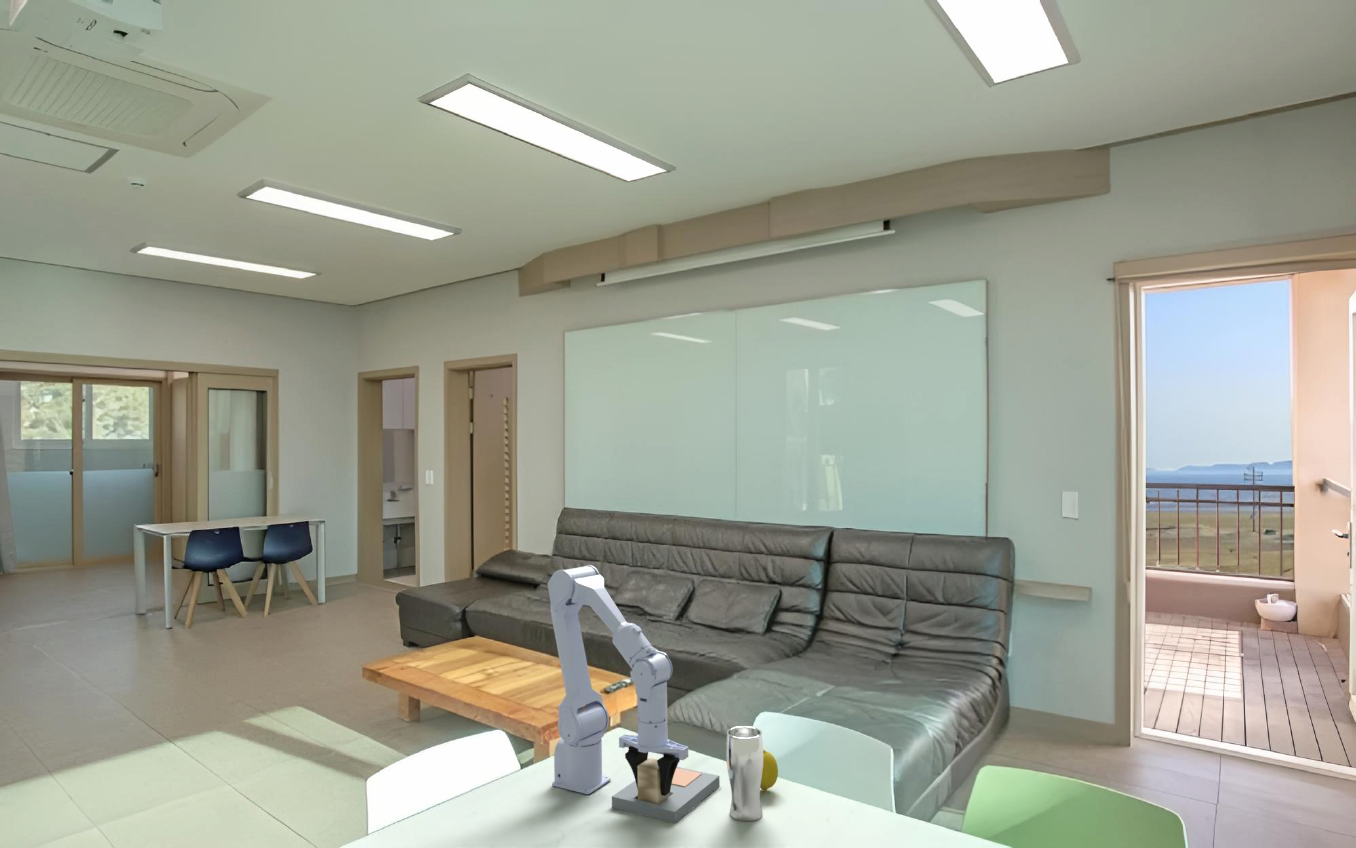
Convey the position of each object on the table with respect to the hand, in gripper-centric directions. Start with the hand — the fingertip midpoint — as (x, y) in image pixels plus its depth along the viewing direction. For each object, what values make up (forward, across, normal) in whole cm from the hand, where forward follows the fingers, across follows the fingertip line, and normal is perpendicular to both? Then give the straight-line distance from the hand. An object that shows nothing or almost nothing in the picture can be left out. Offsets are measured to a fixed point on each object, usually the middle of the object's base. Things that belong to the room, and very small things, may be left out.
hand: (653, 791), depth 145 cm
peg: (+3, 0, 0) cm, 3 cm away
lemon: (+3, +16, +16) cm, 23 cm away
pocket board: (+3, 0, +5) cm, 6 cm away
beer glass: (+3, +17, +5) cm, 18 cm away
